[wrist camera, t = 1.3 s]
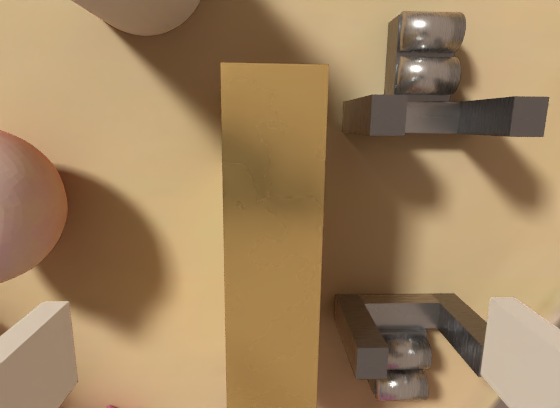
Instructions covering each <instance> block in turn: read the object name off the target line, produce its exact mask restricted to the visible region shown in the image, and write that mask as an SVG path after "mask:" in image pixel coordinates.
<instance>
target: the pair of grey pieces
mask: <svg viewBox="0 0 560 408" xmlns="http://www.w3.org/2000/svg"><path fill="white" fill-rule="evenodd" d="M465 29H466V20H465V16H464V14H463V13H460V12H417V11H403V12H402V13H401V14H400V15H398V16H397V17H396V18H394V19H393V20H392V21H390V22H389V25H388V41H387V57H386V73H385V89H384V95H369V96H365V97H361V98H357V99H353V100H349V101H345V102H343V124H342V132H346V133H354V134H362V135H372V136H405V133H458V134H475V135H491V136H508V137H543V136H544V129H545V122H546V116H547V109H548V102H549V97H517V96H515V97H505V98H495V99H485V100H475V101H465V102H449V101H450V94H453V93H454V92H455V90H456V89H457V87H458V85H459V82H460V77H461V64H460V61H459V59H458V58H457V57H454V52H456V51H457V50H458V49H459V47H460V46H461V44H462V41H463V39H464V35H465ZM334 320H335V323H336V325H337V328H338V331H339V334H340V336H341V339H342V342H343V345H344V347H345V350H346V353H347V356H348V358H349V361H350V364H351V366H352V369H353V372H354V375H355V377H356V379H368V382H369V384H370V387H371V389H372V392H373V394H375V397H376V399H377V400H378V401H398V400H426V399H427V398H428V394H429V386H428V380H427V376H426V374H425V371H424V369H429V368H430V367H431V364H432V353H431V348H430V344H429V342H428V340H427V331H426V330H425V328H438V330H439V331H440V332H441V333H442V334H443V336H444V337H445V338H446V339H447V340H448V341H449V343H450V344H451V345H452V346H453V347H454V349H455V350H456V351H457V352H458V353H459V354H460V356H461V357H462V358H463V359H464V360H465V362H466V363H467V364H468V365H469V366H470V367H471V369H472V370H473V371H474V372H475V373H476V375H477V376H478V377H482V376H481V375H480V373H481V365H482V358H483V350H484V342H485V334H486V327H487V322H485V321H484V320H483V319H482V318H481V317H480V316H479V315H478V314H477V313H475V312H474V311H473V310H472V309H471V308H470V307H469V306H468V305H466V304H465V303H464V302H463V301H462V300H461V299H460V298H459V297H458V296H456V295H455V294H363V295H335V315H334Z"/></svg>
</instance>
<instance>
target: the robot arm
mask: <svg viewBox="0 0 560 408" xmlns="http://www.w3.org/2000/svg"><path fill="white" fill-rule="evenodd" d="M480 375H481V376H482V377H483V378H484V379H485V380H486V382H487V383H488V384H489V385H490V386H491V387H492V389H493V390H494V391H495V392H496V393H497V394H498V396H499V397H500V398H501V399H502V400H503V401H504V402H505V404H506V405H507V406H508V407H509V408H560V329H558V328H557V327H556V326H554V325H553V324H551V323H550V322H549V321H547V320H546V319H544V318H543V317H541V316H540V315H539V314H537V313H536V312H534V311H533V310H531V309H530V308H529V307H527V306H526V305H524V304H523V303H522V302H520V301H519V300H517V299H516V298H514V297H490V303H489V311H488V319H487V327H486V334H485V342H484V350H483V358H482V365H481V373H480ZM77 382H78V376H77V367H76V358H75V349H74V341H73V332H72V323H71V314H70V305H69V301H43V302H42V303H41V304H40V305H38V306H37V307H36V308H35V309H33V310H32V311H31V312H30V313H28V314H27V315H26V316H25V317H23V318H22V319H21V320H20V321H18V322H17V323H16V324H15V325H14V326H12V327H11V328H10V329H9V330H7V331H6V332H5V333H4V334H2V335H1V336H0V408H59V407H60V405H61V404H62V403H63V401H64V400H65V399H66V397H67V396H68V394H69V393H70V392H71V390H72V389H73V387H74V386H75V385H76V383H77Z"/></svg>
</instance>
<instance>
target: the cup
mask: <svg viewBox="0 0 560 408" xmlns="http://www.w3.org/2000/svg"><path fill="white" fill-rule="evenodd" d="M72 1H73V2H75V3H77V4H78V5H80V6H81V7H83V8H84V9H86V10H87V11H89V12H91V13H92V14H94V15H95V16H97V17H98V18H100V19H102V20H103V21H105V22H106V23H108V24H109V25H111V26H113V27H115V28H116V29H119V30H121V31H123V32H126V33H129V34H134V35H140V36H152V35H159V34H163V33H166V32H168V31H171V30H173V29H175V28H176V27H178V26H179V25H181V24H182V23H183V22H185V21H186V20H187V19H188V18H189V17H190V16H191V15H192V13H193V12H194V11H195V9H196V8H197V6H198V4H199V2H200V0H72Z"/></svg>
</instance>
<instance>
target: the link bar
mask: <svg viewBox="0 0 560 408" xmlns="http://www.w3.org/2000/svg"><path fill="white" fill-rule="evenodd" d="M220 68H221V121H222V174H223V228H224V281H225V334H226V387H227V408H316V405H317V378H318V350H319V323H320V296H321V268H322V241H323V214H324V186H325V159H326V132H327V104H328V77H329V65H327V64H275V63H223V62H220Z"/></svg>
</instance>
